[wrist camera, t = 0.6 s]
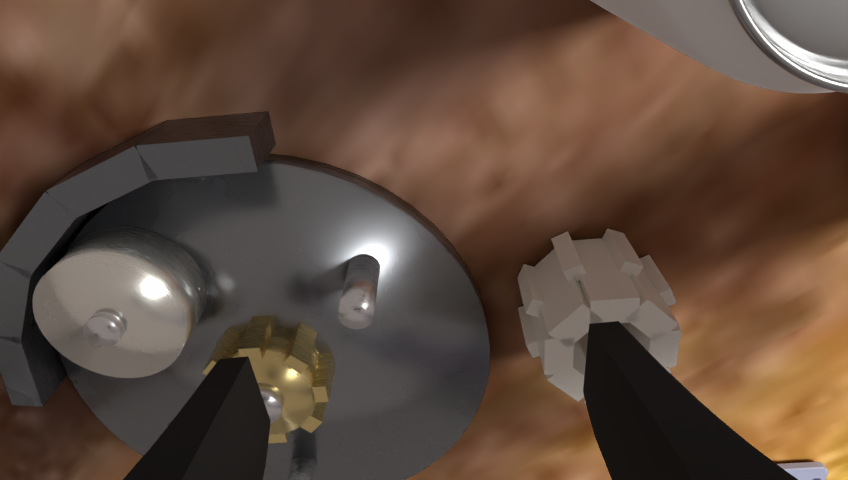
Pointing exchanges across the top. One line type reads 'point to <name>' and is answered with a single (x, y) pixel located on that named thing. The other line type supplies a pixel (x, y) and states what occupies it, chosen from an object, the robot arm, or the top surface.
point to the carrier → (246, 300)
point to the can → (752, 38)
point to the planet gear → (593, 304)
